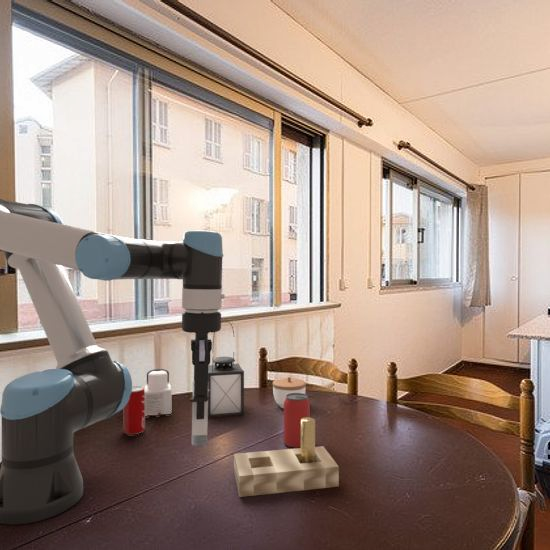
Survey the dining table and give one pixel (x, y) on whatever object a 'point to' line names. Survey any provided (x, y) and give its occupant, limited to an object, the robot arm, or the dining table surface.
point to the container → (158, 393)
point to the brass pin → (307, 440)
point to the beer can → (294, 417)
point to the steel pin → (198, 439)
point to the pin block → (283, 472)
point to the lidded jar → (287, 388)
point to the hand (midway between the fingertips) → (199, 430)
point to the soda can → (134, 412)
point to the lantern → (225, 387)
